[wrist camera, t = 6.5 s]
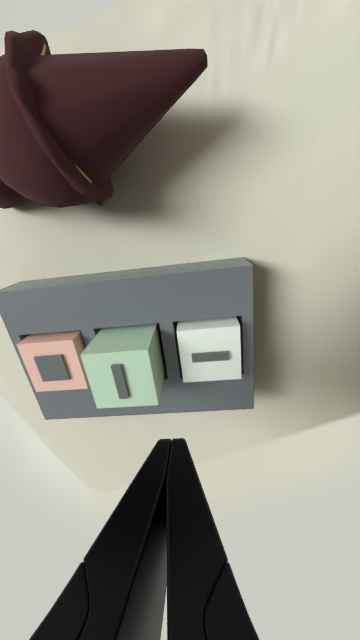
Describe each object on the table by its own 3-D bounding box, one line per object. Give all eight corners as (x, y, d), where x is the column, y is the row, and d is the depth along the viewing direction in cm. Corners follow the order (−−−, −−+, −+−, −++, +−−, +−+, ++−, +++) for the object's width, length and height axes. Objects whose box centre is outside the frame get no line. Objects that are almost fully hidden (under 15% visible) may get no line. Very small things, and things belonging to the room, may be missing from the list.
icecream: (156, -194, 7) (-160, 77, 11) (227, 89, 8) (-90, 246, 12) (195, 36, 14) (-8, 152, 17) (231, 174, 14) (29, 256, 18)
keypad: (243, 257, 18) (253, 265, 15) (246, 384, 22) (253, 408, 19) (20, 281, 19) (-9, 292, 16) (62, 395, 23) (45, 419, 21)
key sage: (157, 322, 18) (147, 351, 14) (164, 370, 19) (157, 407, 15) (102, 327, 18) (78, 356, 14) (114, 373, 19) (95, 410, 16)
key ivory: (231, 305, 19) (240, 327, 15) (233, 350, 20) (242, 380, 17) (179, 310, 19) (176, 332, 16) (185, 354, 21) (183, 384, 17)
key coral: (93, 317, 20) (70, 341, 16) (105, 360, 22) (86, 390, 18) (46, 322, 20) (14, 346, 17) (61, 363, 22) (34, 393, 18)
